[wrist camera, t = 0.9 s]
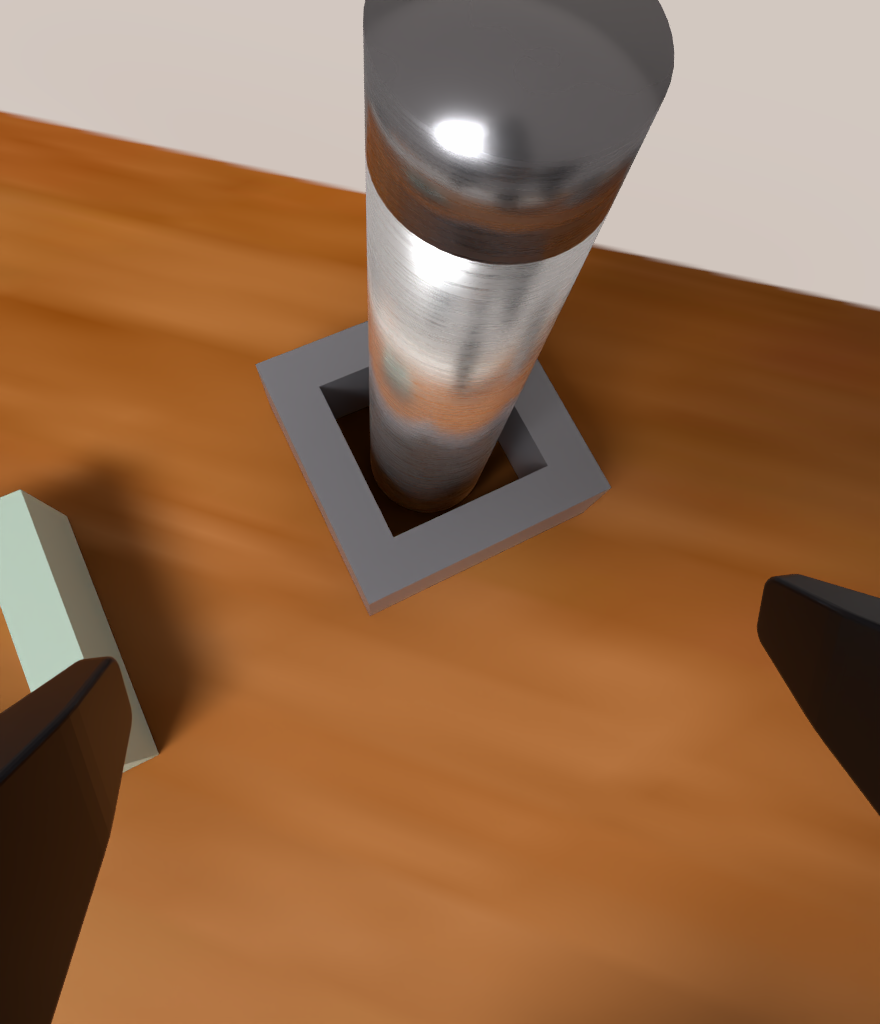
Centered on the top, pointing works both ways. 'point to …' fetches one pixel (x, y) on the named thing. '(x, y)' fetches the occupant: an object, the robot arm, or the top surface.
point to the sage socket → (56, 604)
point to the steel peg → (486, 206)
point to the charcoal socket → (454, 535)
